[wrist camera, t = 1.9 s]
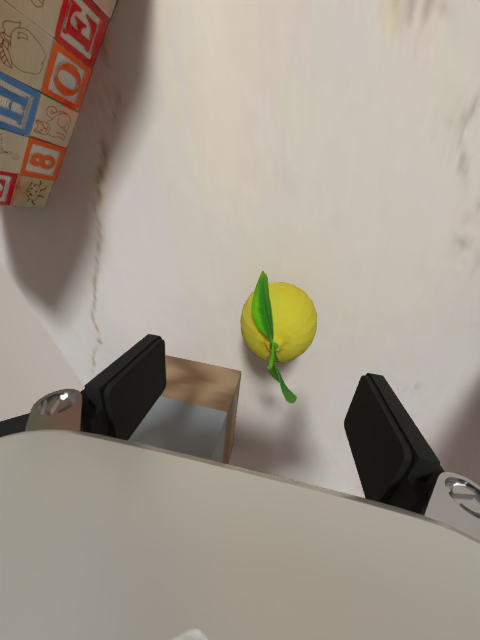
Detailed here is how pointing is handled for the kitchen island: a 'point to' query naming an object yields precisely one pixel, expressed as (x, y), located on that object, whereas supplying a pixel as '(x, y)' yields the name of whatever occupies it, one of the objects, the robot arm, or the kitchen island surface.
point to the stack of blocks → (43, 88)
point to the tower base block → (205, 390)
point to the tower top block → (183, 429)
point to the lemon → (278, 325)
